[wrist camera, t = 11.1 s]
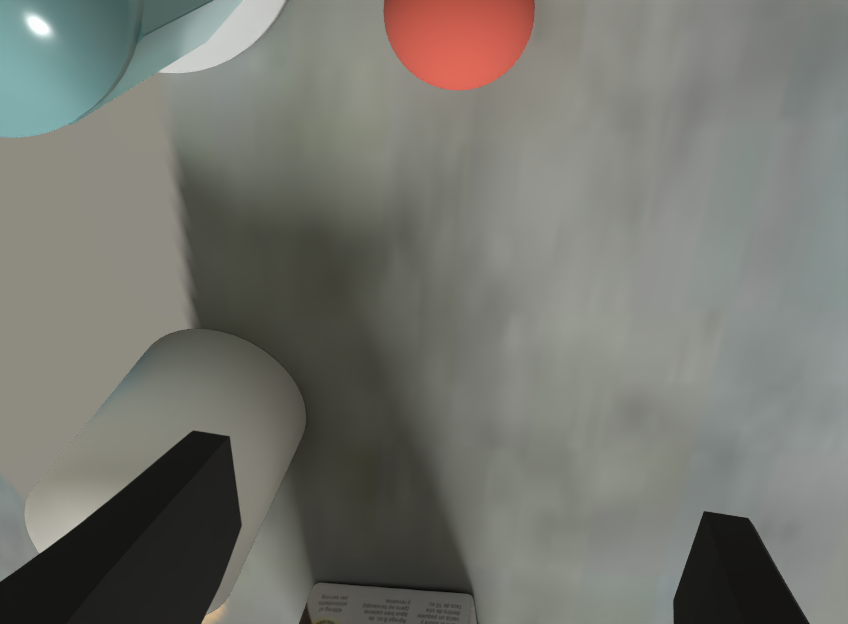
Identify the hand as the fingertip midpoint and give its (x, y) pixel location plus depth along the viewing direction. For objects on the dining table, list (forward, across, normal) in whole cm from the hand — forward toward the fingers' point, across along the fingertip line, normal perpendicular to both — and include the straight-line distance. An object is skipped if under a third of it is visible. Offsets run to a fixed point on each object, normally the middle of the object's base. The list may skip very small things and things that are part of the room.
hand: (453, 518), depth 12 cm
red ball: (+8, +1, -6) cm, 10 cm away
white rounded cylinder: (+10, +8, +7) cm, 15 cm away
